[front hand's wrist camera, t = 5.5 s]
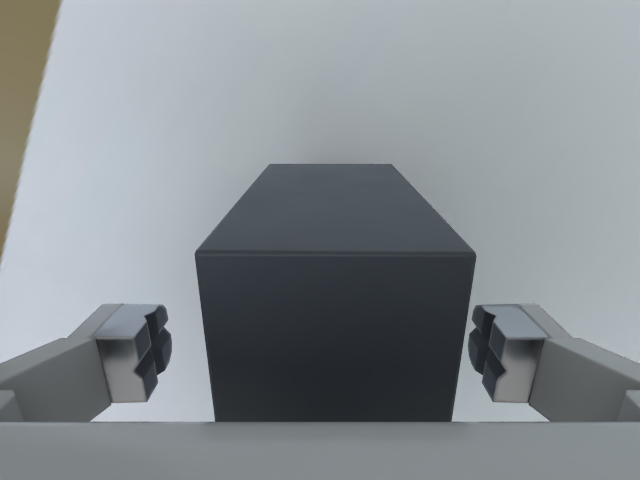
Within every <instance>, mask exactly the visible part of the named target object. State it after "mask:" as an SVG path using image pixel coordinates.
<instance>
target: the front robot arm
mask: <svg viewBox="0 0 640 480" xmlns="http://www.w3.org/2000/svg"><path fill="white" fill-rule="evenodd" d="M167 321H168V316H167V311H166V308H165V307H164V306H163V305H154V304H103V305H101V306H100V307H99V308H98V309H97V310H96V311H95V312H94V313H93V314H92V315H91V316H90V317H89V318H88V319H86V320H85V321H84V322H83V323H82V324H81V325H80V326H79V327H78V328H77V329H76V330H75V331H74V332H73V333H72V334H71V335H70V336H69V337H68V338H60V339H58V340H55V341H53V342H50V343H48V344H46V345H43V346H41V347H39V348H36V349H34V350H32V351H29V352H27V353H24V354H22V355H20V356H17V357H15V358H13V359H10V360H8V361H6V362H3V363H1V364H0V480H640V364H639V363H637V362H634V361H632V360H630V359H627V358H625V357H622V356H620V355H618V354H615V353H613V352H611V351H608V350H606V349H604V348H601V347H599V346H597V345H594V344H592V343H589V342H587V341H585V340H582V339H580V338H572V337H571V336H570V335H569V334H568V333H567V332H566V331H565V330H564V329H563V328H562V327H561V326H560V325H559V324H558V323H557V322H556V321H555V320H554V319H553V318H552V317H550V316H549V315H548V314H547V313H546V312H545V311H544V310H543V309H542V308H541V307H540V306H539V305H537V304H534V303H533V304H498V305H476V306H475V308H474V310H473V315H472V321H473V322H474V324H475V325H476V328H475V329H474V330H473V331H472V332H471V333H470V334H469V341H468V351H469V357H470V361H471V364H472V365H473V367H474V369H475V370H476V371H477V372H479V373H480V374H482V375H483V379H482V384H483V385H484V387H485V389H486V391H487V392H488V394H489V396H490V398H491V399H492V401H493V402H510V403H529V405H530V406H531V407H532V408H534V409H535V410H536V411H538V412H539V413H540V414H542V415H543V416H544V417H546V418H547V419H548V420H549V421H551V422H89V421H91V420H92V419H93V418H95V417H96V416H97V415H98V414H100V413H101V412H102V411H104V410H105V409H106V408H108V407H109V406H110V405H111V403H129V402H147V401H148V399H149V398H150V396H151V394H152V392H153V391H154V389H155V387H156V385H157V384H158V379H157V375H158V374H160V373H161V372H163V371H164V370H165V369H166V367H167V365H168V363H169V361H170V357H171V352H172V340H171V334H170V333H169V332H168V331H167V330H166V329H165V328H164V325H165V324H166V322H167Z"/></svg>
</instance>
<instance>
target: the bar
mask: <svg viewBox="0 0 640 480" xmlns="http://www.w3.org/2000/svg"><path fill="white" fill-rule="evenodd" d="M195 261H196V269H197V277H198V285H199V293H200V301H201V310H202V318H203V326H204V334H205V342H206V350H207V358H208V366H209V374H210V383H211V391H212V399H213V407H214V415H215V422H451V421H452V414H453V407H454V401H455V394H456V387H457V381H458V374H459V367H460V361H461V354H462V348H463V341H464V334H465V328H466V321H467V314H468V308H469V301H470V295H471V288H472V281H473V275H474V268H475V261H476V253H475V252H474V251H473V250H472V249H471V248H470V246H469V245H468V244H467V243H466V242H465V241H464V240H463V239H462V238H461V237H460V236H459V235H458V234H457V233H456V232H455V231H454V230H453V229H452V227H451V226H450V225H449V224H448V223H447V222H446V221H445V220H444V219H443V218H442V217H441V216H440V215H439V214H438V213H437V212H436V211H435V210H434V209H433V207H432V206H431V205H430V204H429V203H428V202H427V201H426V200H425V199H424V198H423V197H422V196H421V195H420V194H419V193H418V192H417V191H416V190H415V188H414V187H413V186H412V185H411V184H410V183H409V182H408V181H407V180H406V179H405V178H404V177H403V176H402V175H401V174H400V173H399V172H398V171H397V170H396V168H395V167H394V166H393V165H391V164H270V165H268V167H267V168H266V169H265V170H264V171H263V172H262V174H261V175H260V176H259V177H258V178H257V180H256V181H255V182H254V183H253V184H252V185H251V187H250V188H249V189H248V190H247V191H246V192H245V194H244V195H243V196H242V197H241V198H240V200H239V201H238V202H237V203H236V204H235V205H234V207H233V208H232V209H231V210H230V211H229V213H228V214H227V215H226V216H225V217H224V218H223V220H222V221H221V222H220V223H219V224H218V226H217V227H216V228H215V229H214V230H213V231H212V233H211V234H210V235H209V236H208V237H207V238H206V240H205V241H204V242H203V243H202V244H201V246H200V247H199V248H198V249H197V250H196V252H195Z"/></svg>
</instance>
